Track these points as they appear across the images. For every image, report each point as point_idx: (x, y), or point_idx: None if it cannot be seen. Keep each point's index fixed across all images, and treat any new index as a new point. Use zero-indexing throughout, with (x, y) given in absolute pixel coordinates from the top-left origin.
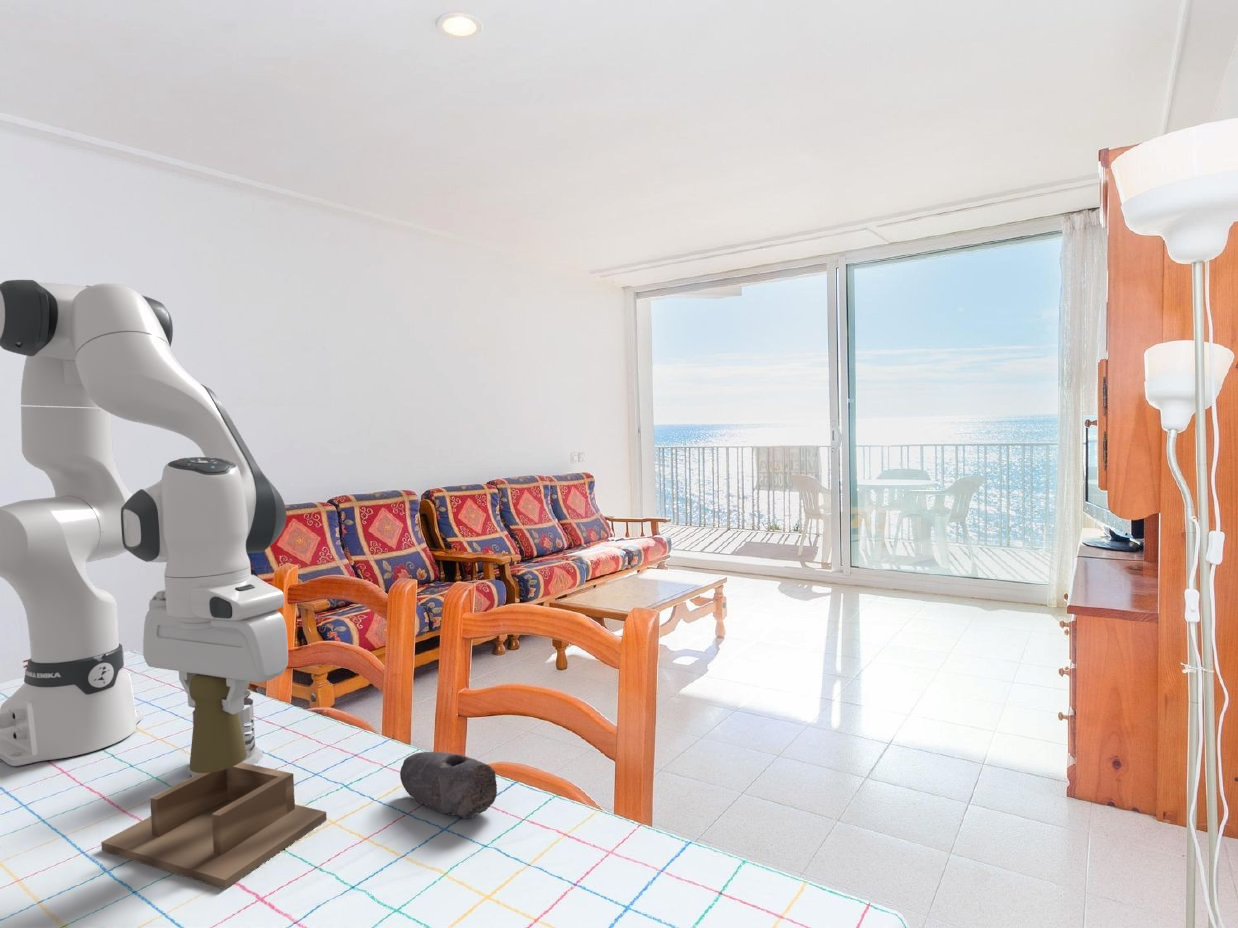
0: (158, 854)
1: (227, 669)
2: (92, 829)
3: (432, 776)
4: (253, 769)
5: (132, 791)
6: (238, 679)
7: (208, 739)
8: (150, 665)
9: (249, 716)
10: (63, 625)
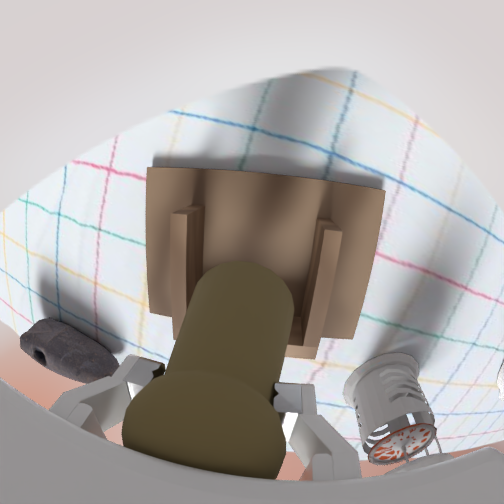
0: (278, 183)
1: (17, 422)
2: (431, 227)
3: (53, 343)
4: None
5: (445, 307)
6: (9, 385)
7: (204, 304)
8: (483, 452)
9: (360, 435)
10: None
